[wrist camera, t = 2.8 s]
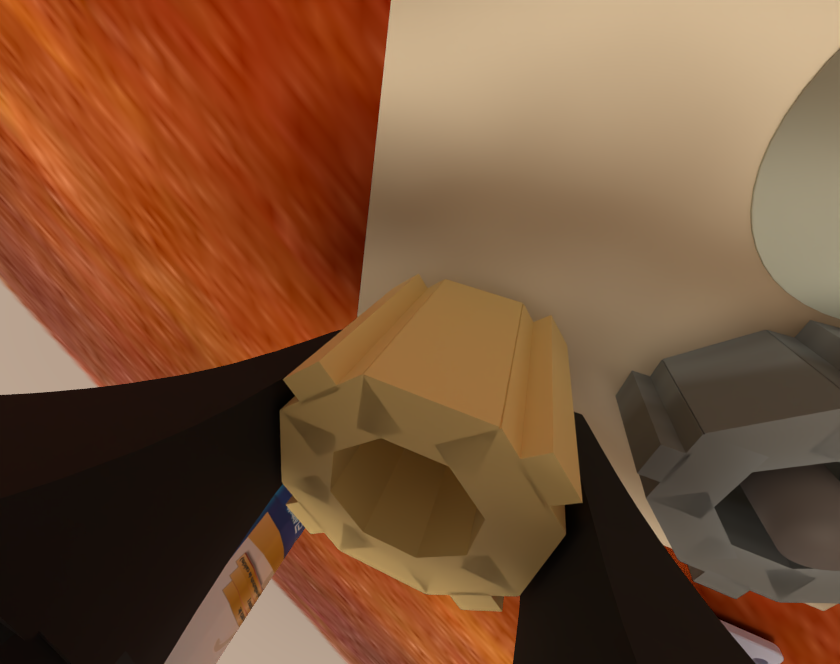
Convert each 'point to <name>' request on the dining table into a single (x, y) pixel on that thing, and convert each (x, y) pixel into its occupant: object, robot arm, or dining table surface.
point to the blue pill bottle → (239, 584)
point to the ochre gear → (437, 441)
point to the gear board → (646, 243)
